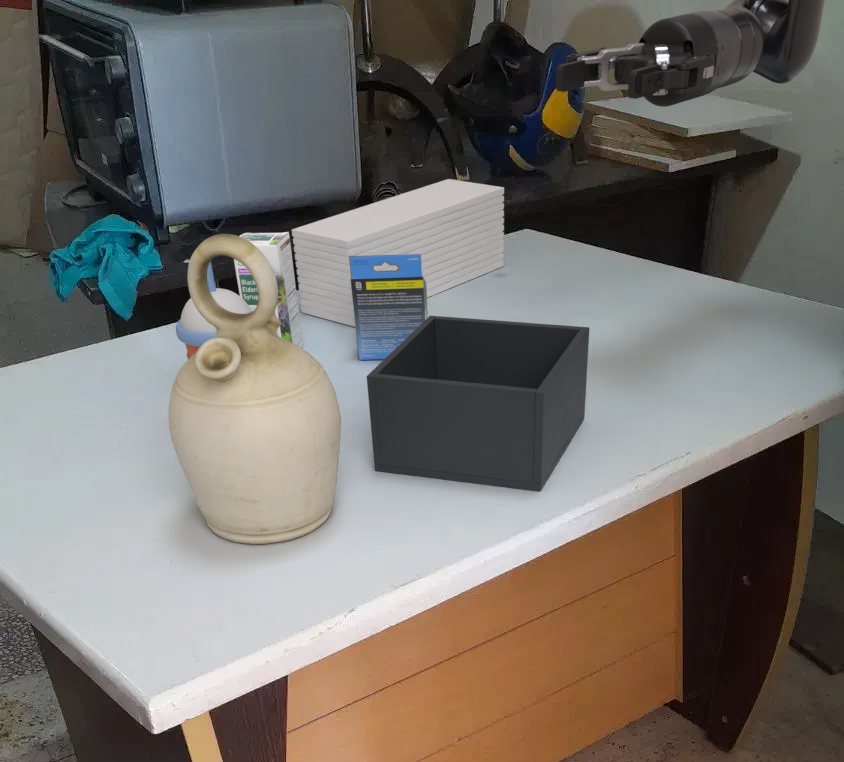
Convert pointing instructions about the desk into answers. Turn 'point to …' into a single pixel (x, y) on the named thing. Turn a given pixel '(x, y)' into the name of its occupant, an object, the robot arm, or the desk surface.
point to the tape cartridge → (386, 302)
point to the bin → (479, 401)
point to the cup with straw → (198, 329)
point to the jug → (253, 414)
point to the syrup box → (281, 262)
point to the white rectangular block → (402, 242)
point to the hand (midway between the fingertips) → (594, 82)
